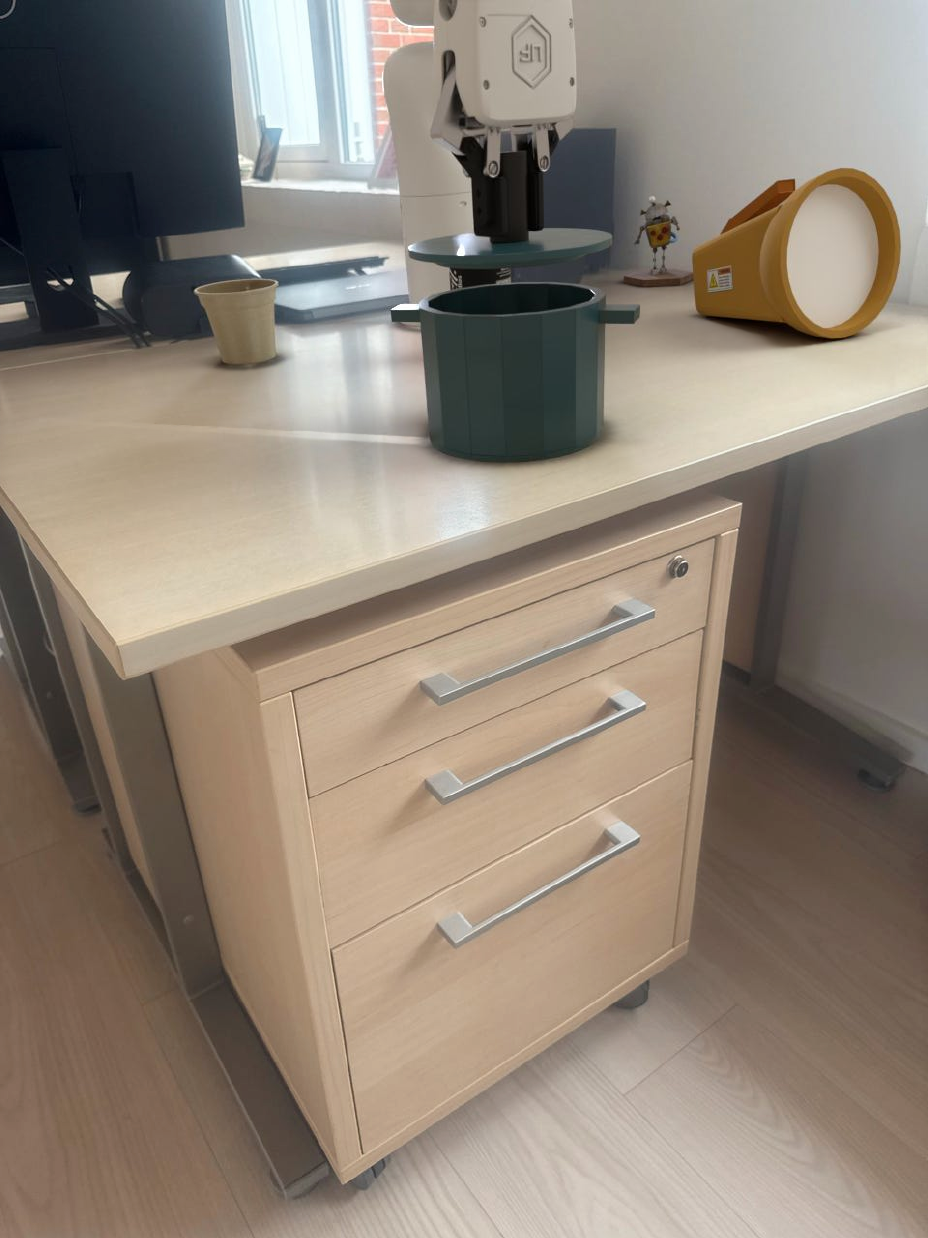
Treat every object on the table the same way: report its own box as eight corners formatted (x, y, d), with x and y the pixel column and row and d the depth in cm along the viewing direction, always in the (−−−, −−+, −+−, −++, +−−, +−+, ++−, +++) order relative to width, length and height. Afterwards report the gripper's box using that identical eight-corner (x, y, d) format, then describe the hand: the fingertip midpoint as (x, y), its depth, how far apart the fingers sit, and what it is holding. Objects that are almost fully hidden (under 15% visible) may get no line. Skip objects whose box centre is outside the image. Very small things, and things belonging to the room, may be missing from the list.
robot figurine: (692, 274, 139) (697, 190, 133) (700, 283, 131) (706, 195, 125) (621, 277, 141) (623, 194, 135) (625, 287, 133) (627, 199, 127)
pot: (436, 404, 84) (427, 282, 78) (647, 412, 77) (652, 280, 72) (373, 454, 72) (357, 315, 67) (615, 469, 66) (619, 317, 60)
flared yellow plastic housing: (902, 326, 99) (900, 154, 94) (785, 348, 93) (776, 167, 88) (776, 339, 117) (768, 196, 112) (671, 359, 111) (658, 209, 106)
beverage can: (446, 357, 100) (438, 244, 94) (498, 349, 102) (493, 237, 96) (469, 369, 95) (462, 249, 89) (523, 360, 97) (520, 242, 91)
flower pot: (271, 371, 99) (258, 291, 95) (195, 372, 101) (178, 294, 97) (301, 352, 107) (290, 277, 103) (230, 353, 109) (216, 279, 105)
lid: (449, 245, 77) (444, 152, 73) (628, 241, 72) (631, 141, 68) (376, 274, 64) (365, 163, 60) (587, 271, 59) (588, 150, 55)
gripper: (439, -91, 51) (459, 249, 60) (624, -72, 60) (617, 222, 69) (365, -66, 56) (394, 244, 65) (546, -52, 65) (549, 219, 74)
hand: (509, 230), depth 67 cm, fingers closed on lid, 3 cm apart
